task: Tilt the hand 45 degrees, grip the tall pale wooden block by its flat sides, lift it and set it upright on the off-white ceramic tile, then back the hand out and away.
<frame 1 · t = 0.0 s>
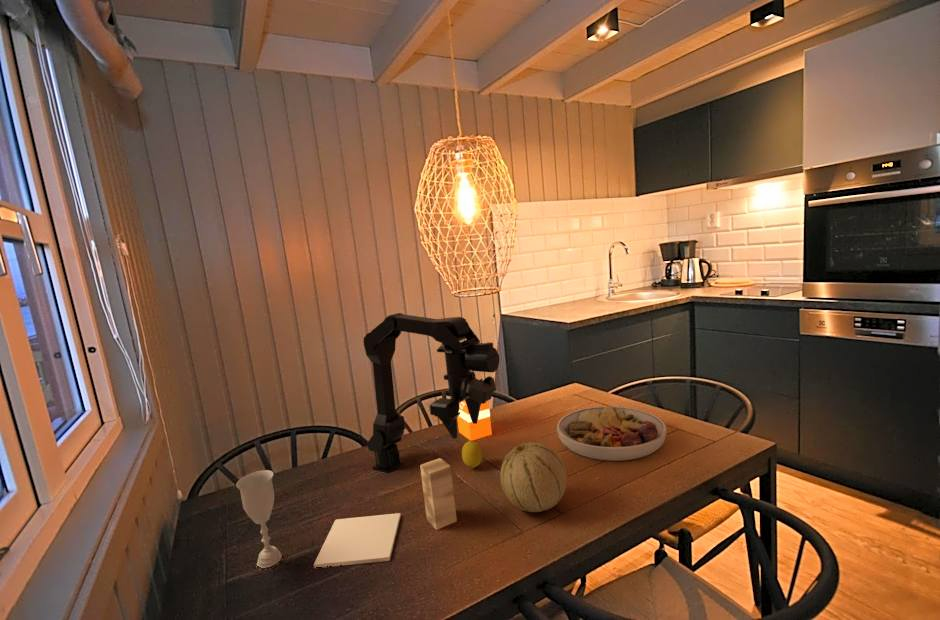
hand: (465, 430, 113), 15 cm above the table, tool pointing down, fingers open, 9 cm apart
cantaloupe: (535, 507, 103), on the table
lemon: (473, 468, 124), on the table
wood block: (441, 520, 101), on the table
bowl: (610, 441, 132), on the table
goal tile: (360, 540, 97), on the table
orange juice: (475, 433, 147), on the table
chalice: (269, 561, 93), on the table
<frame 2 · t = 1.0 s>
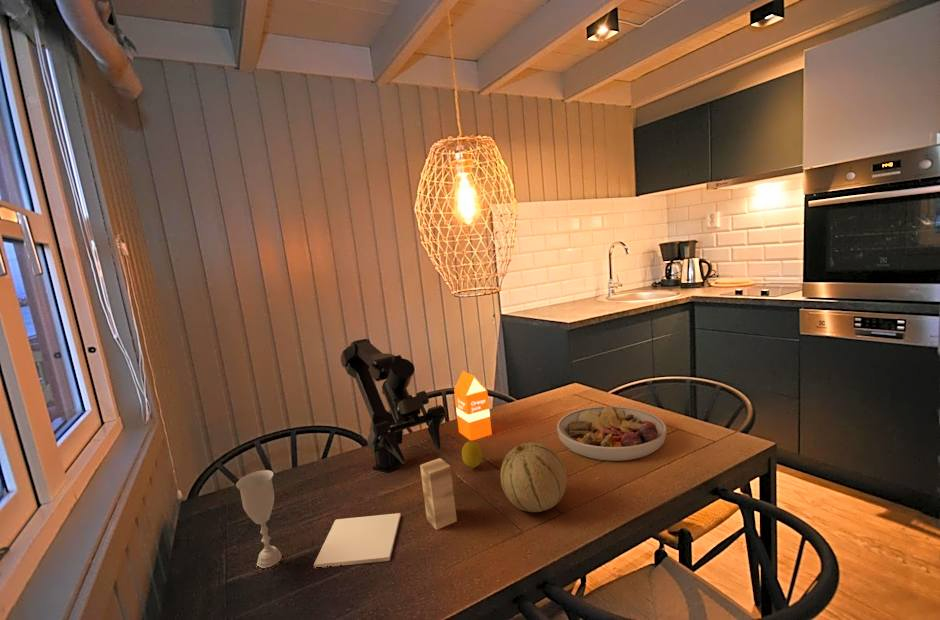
hand: (422, 456, 106), 12 cm above the table, tool tilted 45°, fingers open, 9 cm apart
nothing on the table moved.
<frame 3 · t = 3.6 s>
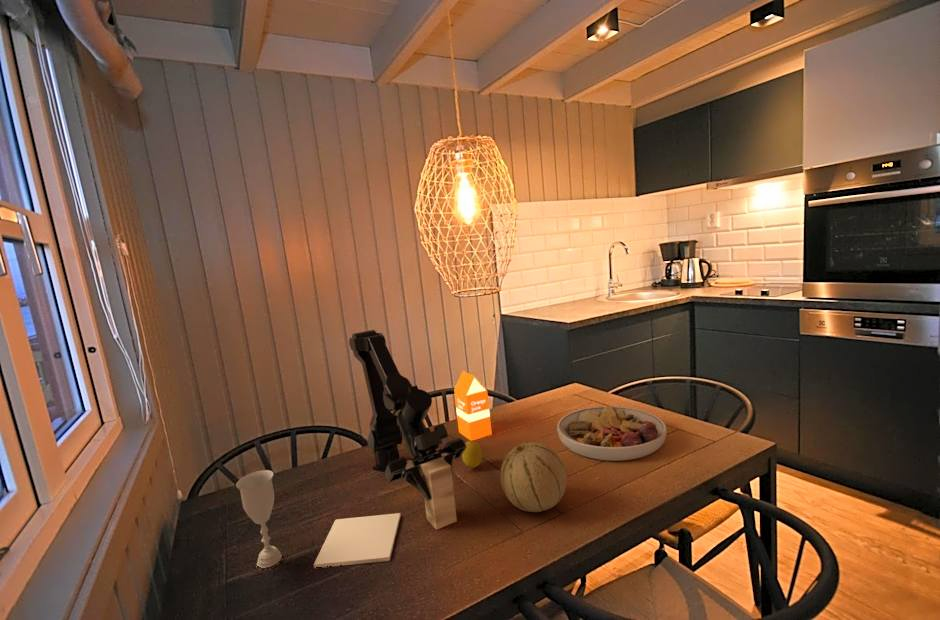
hand: (441, 495, 99), 7 cm above the table, tool tilted 45°, fingers closed on wood block, 5 cm apart
wood block: (441, 520, 101), on the table, touching gripper
everything else where it was.
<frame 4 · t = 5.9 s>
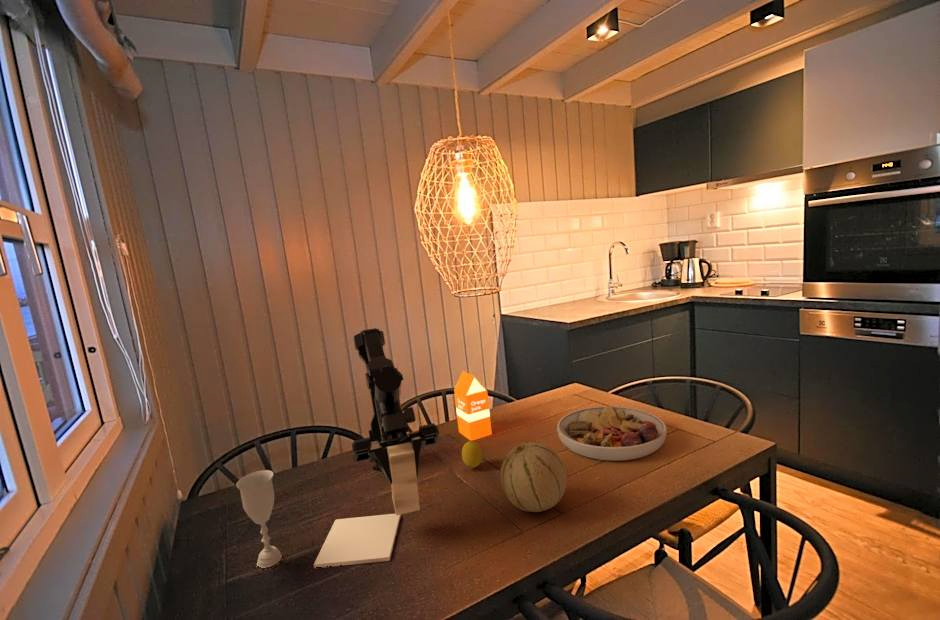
hand: (404, 480, 95), 12 cm above the table, tool tilted 45°, fingers closed on wood block, 5 cm apart
wood block: (406, 506, 98), point 6 cm above the table, touching gripper
everything else where it was.
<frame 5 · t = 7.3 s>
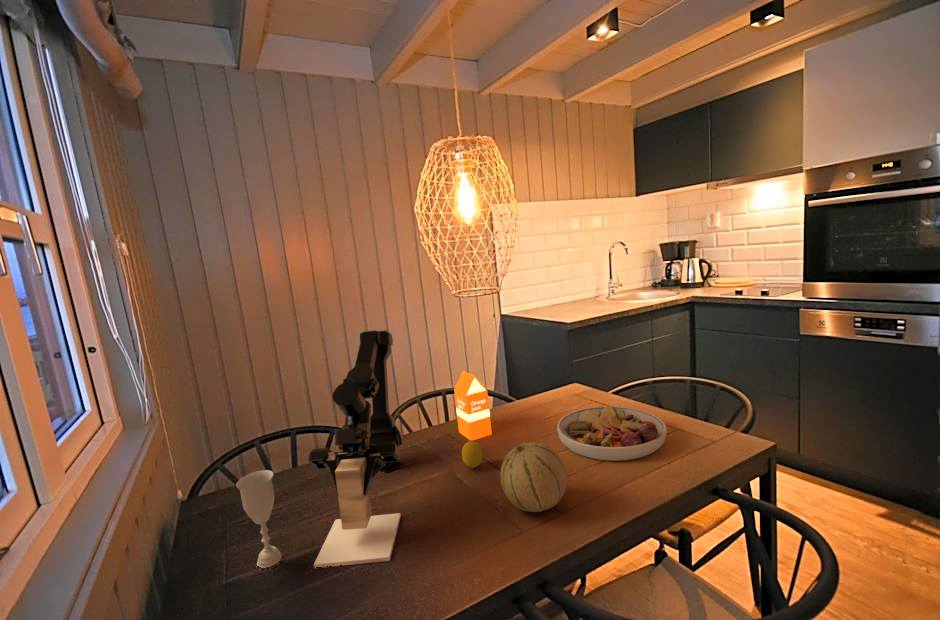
hand: (352, 496, 94), 11 cm above the table, tool tilted 45°, fingers closed on wood block, 5 cm apart
wood block: (357, 521, 97), point 4 cm above the table, touching gripper
everything else where it was.
when the fingers open (8 cm above the table, at t = 8.2 s): wood block stays where it is, resting on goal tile.
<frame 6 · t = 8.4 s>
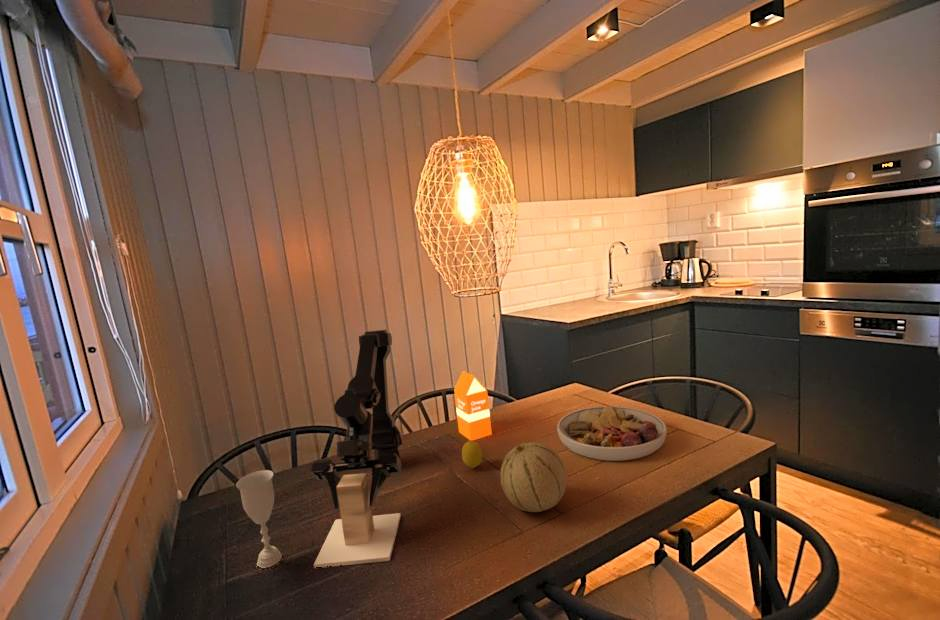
hand: (353, 507, 95), 8 cm above the table, tool tilted 45°, fingers open, 7 cm apart
wood block: (360, 536, 97), point 1 cm above the table, touching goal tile
everything else where it was.
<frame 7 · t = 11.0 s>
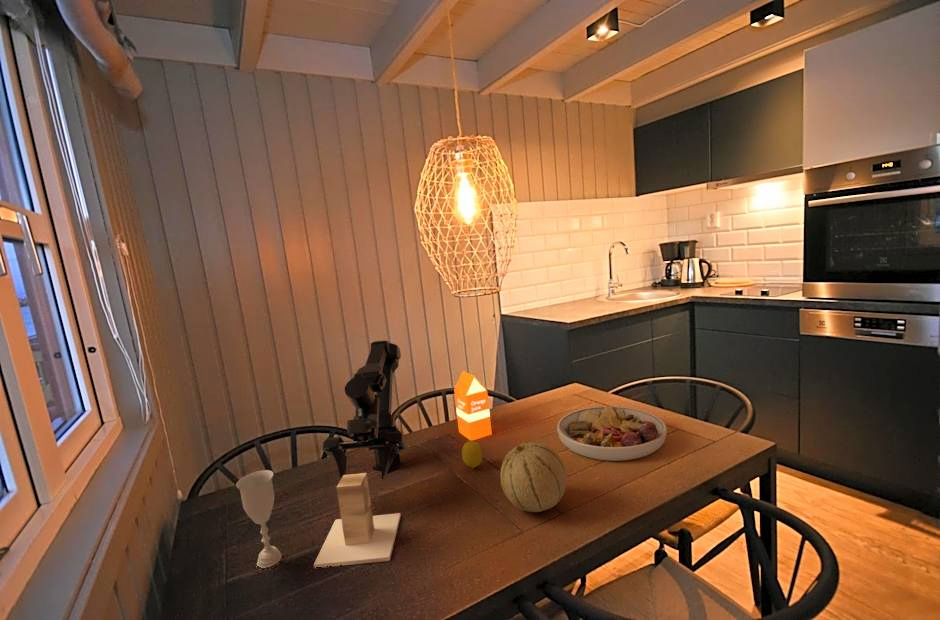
hand: (362, 480, 103), 10 cm above the table, tool tilted 45°, fingers open, 9 cm apart
nothing on the table moved.
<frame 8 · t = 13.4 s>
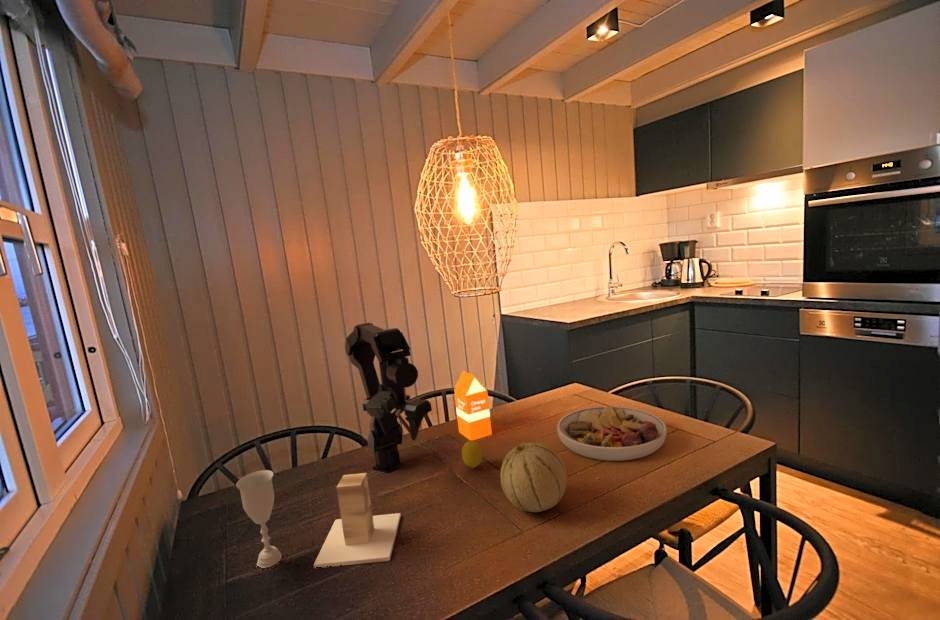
hand: (400, 437, 117), 13 cm above the table, tool pointing down, fingers open, 9 cm apart
nothing on the table moved.
at the end: wood block inside the target area on the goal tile (0.0 cm from its centre), point 0.8 cm above the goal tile's base; wood block tilted 0°; the gripper is holding nothing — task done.
